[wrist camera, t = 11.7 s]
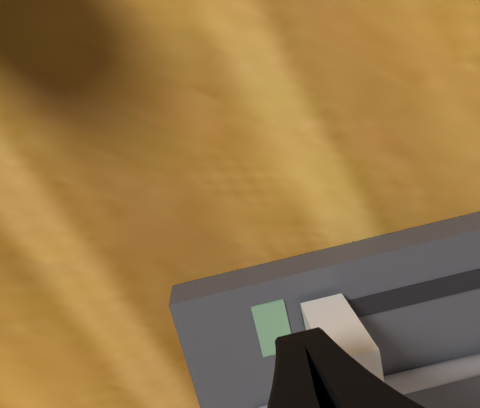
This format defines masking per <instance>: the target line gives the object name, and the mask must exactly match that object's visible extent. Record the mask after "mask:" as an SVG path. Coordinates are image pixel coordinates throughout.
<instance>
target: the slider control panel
mask: <svg viewBox="0 0 480 408" xmlns="http://www.w3.org/2000/svg"><path fill="white" fill-rule="evenodd" d="M340 293H342V295H343V296H344V298H345V299H346V301H347V302H348V304H349V305H350V307H351V308H352V310H353V311H354V313H355V314H356V316H357V317H358V319H359V320H360V322H361V323H362V325H363V326H364V327H365V329H366V330H367V332H368V333H369V335H370V336H371V338H372V339H373V341H374V342H375V344H376V345H377V347H378V348H379V351H380V357H381V364H382V370H383V377H384V382H385V383H386V384H388V385H389V386H391V387H392V388H394V389H395V390H397V391H398V392H400V393H401V394H403V395H404V396H406V397H408V398H409V399H411V400H413V401H414V402H416V403H418V404H419V405H421V406H423V407H425V408H480V212H476V213H472V214H468V215H464V216H460V217H455V218H451V219H447V220H443V221H439V222H435V223H431V224H426V225H422V226H418V227H414V228H410V229H406V230H402V231H397V232H393V233H389V234H385V235H381V236H377V237H373V238H368V239H364V240H360V241H356V242H352V243H348V244H344V245H339V246H335V247H331V248H327V249H323V250H319V251H315V252H310V253H306V254H302V255H298V256H294V257H290V258H286V259H282V260H277V261H273V262H269V263H265V264H261V265H257V266H253V267H248V268H244V269H240V270H236V271H232V272H228V273H224V274H219V275H215V276H211V277H207V278H203V279H199V280H195V281H190V282H186V283H182V284H178V285H174V286H172V292H171V297H170V302H169V307H170V310H171V314H172V317H173V320H174V323H175V327H176V330H177V333H178V336H179V340H180V343H181V346H182V349H183V353H184V356H185V359H186V362H187V366H188V369H189V372H190V375H191V379H192V382H193V385H194V388H195V392H196V395H197V398H198V401H199V405H200V408H267V406H268V402H269V397H270V393H271V388H272V383H273V376H274V370H275V359H276V347H275V340H276V339H277V337H280V336H284V335H288V334H292V333H296V332H301V331H305V330H306V329H305V324H304V319H303V314H302V310H301V305H300V303H303V302H307V301H312V300H316V299H320V298H324V297H328V296H332V295H336V294H340Z"/></svg>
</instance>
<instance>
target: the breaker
mask: <svg viewBox="0 0 480 408" xmlns="http://www.w3.org/2000/svg"><path fill="white" fill-rule="evenodd" d="M300 305H301V310H302V314H303V319H304V324H305V329H306V330H309V329H313V328H317V327H319V328H321V329H322V330H324V332H325V333H326V334H327V335H328V336H329V337H330V338H331V339H332V340H333V341H334V342H335V343H337V344H338V345H339V346H340V347H341V348H342V349H343V350H344V351H345V352H346V353H348V354H349V355H350V356H351V357H352V358H354V359H355V360H356V361H357V362H358V363H360V364H361V365H362V366H363V367H365V368H366V369H367V370H368V371H370V372H371V373H372V374H374V375H375V376H376V377H378V378H379V379H381V380H382V381H383V382H384V377H383V370H382V364H381V357H380V351H379V348H378V347H377V345H376V344H375V342H374V341H373V339H372V338H371V336H370V335H369V333H368V332H367V330H366V329H365V327H364V326H363V325H362V323H361V322H360V320H359V319H358V317H357V316H356V314H355V313H354V311H353V310H352V308H351V307H350V305H349V304H348V302H347V301H346V299H345V298H344V296H343V295H342V293H340V294H336V295H332V296H328V297H324V298H320V299H316V300H312V301H307V302H303V303H300Z"/></svg>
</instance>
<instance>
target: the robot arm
mask: <svg viewBox="0 0 480 408" xmlns="http://www.w3.org/2000/svg"><path fill="white" fill-rule="evenodd" d="M275 347H276V359H275V370H274V376H273V383H272V388H271V393H270V397H269V402H268V406H267V408H425V407H423V406H421V405H419V404H418V403H416V402H414V401H413V400H411V399H409V398H408V397H406V396H404V395H403V394H401V393H400V392H398V391H397V390H395V389H394V388H392V387H391V386H389V385H388V384H386V383H385V382H383V381H382V380H381V379H379V378H378V377H376V376H375V375H374V374H372V373H371V372H370V371H368V370H367V369H366V368H365V367H363V366H362V365H361V364H360V363H358V362H357V361H356V360H355V359H354V358H352V357H351V356H350V355H349V354H348V353H346V352H345V351H344V350H343V349H342V348H341V347H340V346H339V345H338V344H337V343H335V342H334V341H333V340H332V339H331V338H330V337H329V336H328V335H327V334H326V333H325V332H324V330H322V329H321V328H319V327H317V328H313V329H309V330H305V331H301V332H296V333H292V334H288V335H284V336H280V337H277V339H276V340H275Z"/></svg>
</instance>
